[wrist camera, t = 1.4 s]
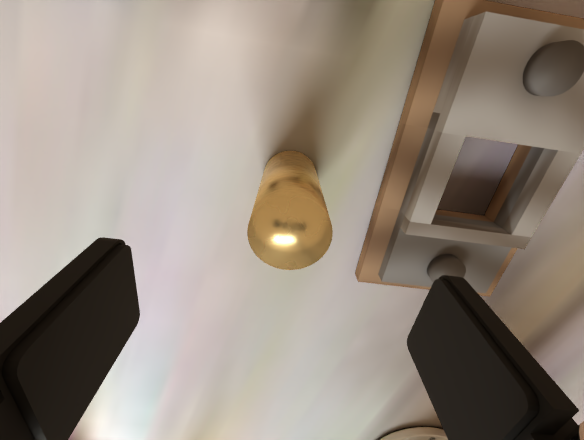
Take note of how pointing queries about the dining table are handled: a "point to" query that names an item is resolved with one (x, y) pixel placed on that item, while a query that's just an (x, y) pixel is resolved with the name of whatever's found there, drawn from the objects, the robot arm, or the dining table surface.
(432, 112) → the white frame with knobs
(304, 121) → the dining table surface
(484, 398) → the robot arm
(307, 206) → the pin
